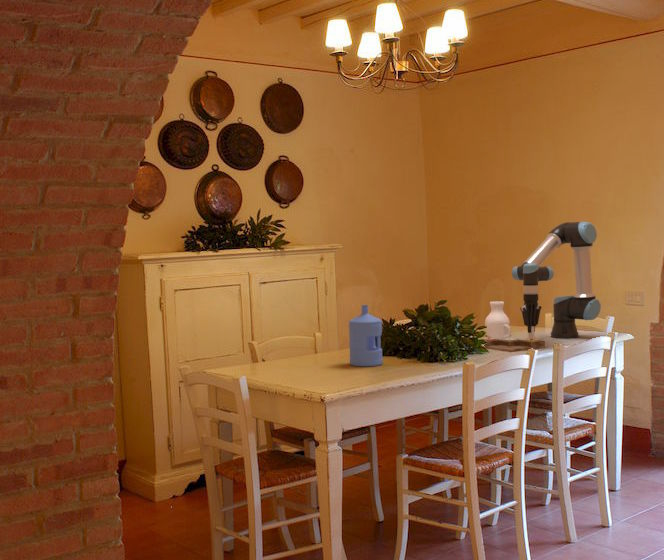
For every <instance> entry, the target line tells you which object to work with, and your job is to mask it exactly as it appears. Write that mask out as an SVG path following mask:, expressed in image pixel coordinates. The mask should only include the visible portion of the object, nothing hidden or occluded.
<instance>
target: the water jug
mask: <svg viewBox="0 0 664 560" xmlns="http://www.w3.org/2000/svg"><path fill="white" fill-rule="evenodd" d="M382 324H383V322H382V319H380V318H378V317H376V316H374V315H372V314H370V313H369V305H368V304H363V305H361V313H360V314H359V315H357V316H356V317H354V318H352V319H350V320H349V321H348V330H349V331H348V332H349V333H348V335H349V339H348V340H349V343H348V345H349V364H350V366H354V367H360V368H361V367H362V368H364V367H366V368H367V367H370V368H371V367H377V366H381V365H383V361H384V358H383V348H382V345H381V343H382V341H381V336H382V334H383V333H382V330H383V325H382Z"/></svg>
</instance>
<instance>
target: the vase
mask: <svg viewBox="0 0 664 560" xmlns="http://www.w3.org/2000/svg"><path fill="white" fill-rule="evenodd" d="M489 305H490V309H491V310H490V312H489V314H488V315H487V316H486V318H485V319H484V327H485V326H487V328H485V331H486V336H487V337H486V338H491V322H492V321H506V325H508V326H509V327H510V325H511V324H510V323H511V322H510V321H511V320H510V317H508V316H507V314H506V313H505V312H504V305H505V302H504V301H500V300H499V301H489ZM508 333H509V330H508V328H506V335H508Z"/></svg>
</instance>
